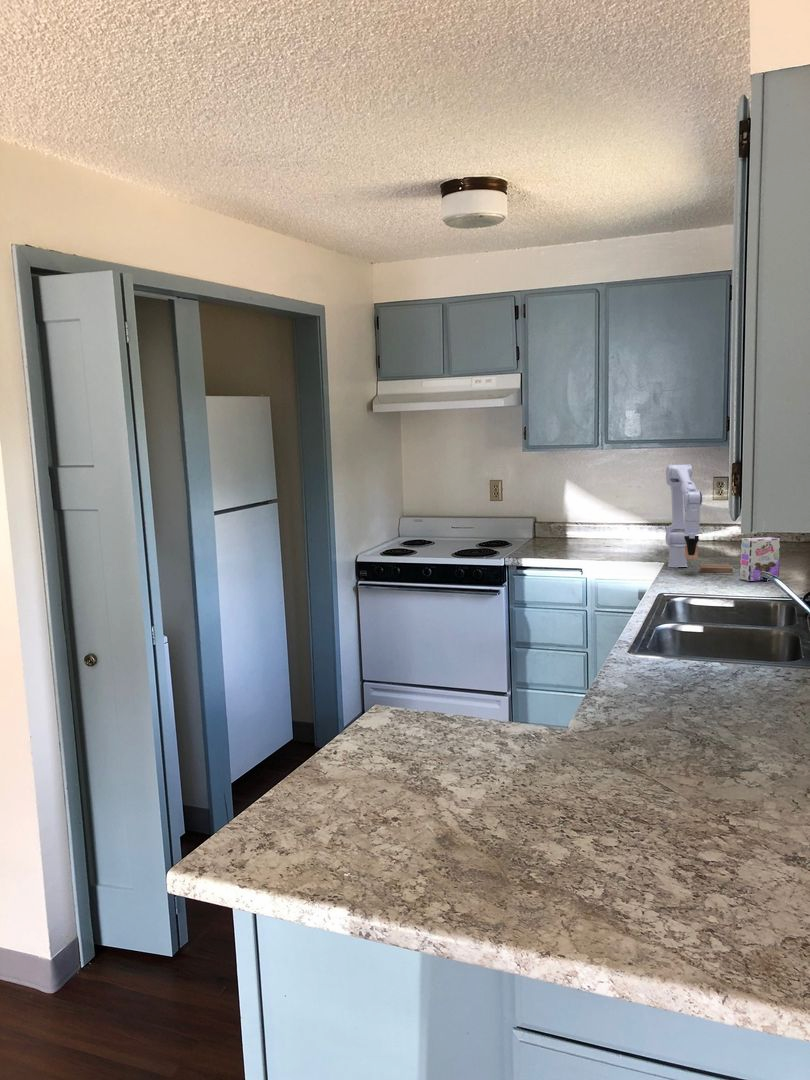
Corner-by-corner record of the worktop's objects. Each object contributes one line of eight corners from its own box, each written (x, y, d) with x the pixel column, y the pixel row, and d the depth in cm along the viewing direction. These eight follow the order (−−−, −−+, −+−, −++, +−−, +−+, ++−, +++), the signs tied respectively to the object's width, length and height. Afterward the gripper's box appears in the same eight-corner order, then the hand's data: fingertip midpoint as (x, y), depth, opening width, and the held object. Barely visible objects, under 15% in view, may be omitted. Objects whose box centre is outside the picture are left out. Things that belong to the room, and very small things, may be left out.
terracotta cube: (684, 556, 342) (684, 544, 341) (697, 557, 340) (697, 545, 340) (684, 558, 337) (685, 546, 337) (697, 558, 336) (698, 546, 335)
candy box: (748, 582, 319) (750, 539, 317) (738, 580, 324) (740, 538, 323) (779, 580, 322) (781, 538, 321) (769, 578, 328) (770, 536, 326)
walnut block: (699, 570, 353) (700, 563, 352) (730, 571, 349) (730, 564, 349) (700, 574, 341) (701, 567, 341) (732, 575, 338) (732, 568, 337)
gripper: (703, 522, 329) (702, 556, 331) (702, 519, 343) (701, 552, 344) (684, 522, 331) (683, 556, 333) (683, 519, 345) (683, 551, 346)
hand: (691, 554), depth 339 cm, fingers closed on terracotta cube, 5 cm apart
